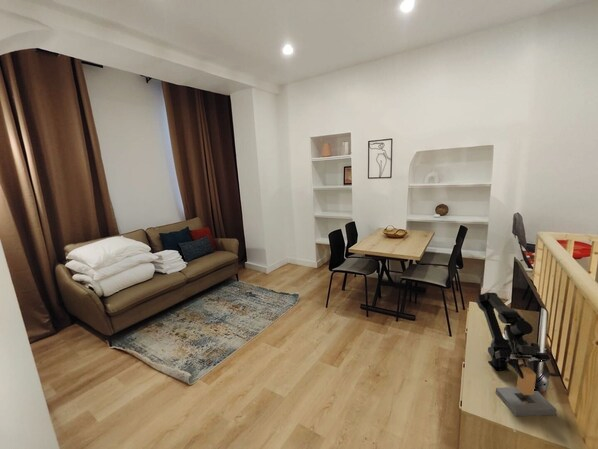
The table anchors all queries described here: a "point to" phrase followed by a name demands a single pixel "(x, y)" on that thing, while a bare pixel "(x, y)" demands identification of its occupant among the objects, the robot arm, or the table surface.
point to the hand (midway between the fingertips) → (528, 378)
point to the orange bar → (526, 381)
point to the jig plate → (518, 408)
